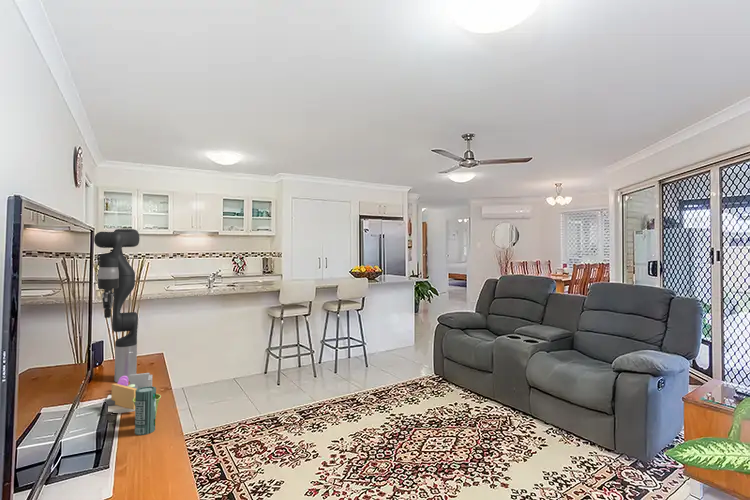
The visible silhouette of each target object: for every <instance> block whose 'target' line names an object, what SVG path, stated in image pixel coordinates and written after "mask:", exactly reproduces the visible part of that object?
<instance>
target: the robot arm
mask: <svg viewBox="0 0 750 500" xmlns="http://www.w3.org/2000/svg"><path fill="white" fill-rule="evenodd" d="M138 231H139V230H136V229H133V228H116V229H114V230H113V231H98V232H97V233H96V234H95V235H94V237H93V242H94V244H95V246H96V247H98V248H100V249H101V248H103V249H112V250H111V251H110V252H106V253H101V254H99V258H98V272H97V288H98V289H99V290H103V293H101V298H102V306H103V307H102V308H103V309H104V316H103V318H105V319H110V318H111V317H112V320H111V328H112V331H113V332H114V333H122V332H129V333H128V334H126V335H124V336H123V337H119V338H117V339H116V340H115V343H114V355H115V356H114V380H113V382H115V383H118V381H119V378H120V377H121V376H127V377H128V383H130V375H132V374H137V365H138V364H137V363H138V360H137V359H138V357H137V355H138V327H139V326H138V325H139V315H138V313H137V312H135V311H133V312H132V311H131V312H128V311H127V312H121V309H122V306H123V305H124V303H125V301H126V299H127V298H128V297H129V295H130V294H131V293H132V292H133V291H134V289H135V286H136V272H135V271H134V268H133V267H132V265H131V264H130V263H129V262H128V260H127V259H126V257H125V255H124V252H123V248H135V247H137V246H138V245H139V243H140V234H139V232H138Z"/></svg>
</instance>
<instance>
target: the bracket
mask: <svg viewBox="0 0 750 500" xmlns="http://www.w3.org/2000/svg"><path fill="white" fill-rule="evenodd" d="M116 384H120V385H124V386H127V385H129V382H128V377H127V376H121V377H120V378H119V381H118V382H116Z"/></svg>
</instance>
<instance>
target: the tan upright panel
mask: <svg viewBox="0 0 750 500" xmlns="http://www.w3.org/2000/svg"><path fill="white" fill-rule="evenodd" d="M110 395H111V398H109V399H107V398H106V400H105V402H106V403H107V404H108V405H118V406H122V407H125V408H129V409H133V410H134V409H135V405H134V402H133V399H134V398H135V396H136V388H132V387H128V386H124V385H120V384H117V382H115V383H111V394H110Z"/></svg>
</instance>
